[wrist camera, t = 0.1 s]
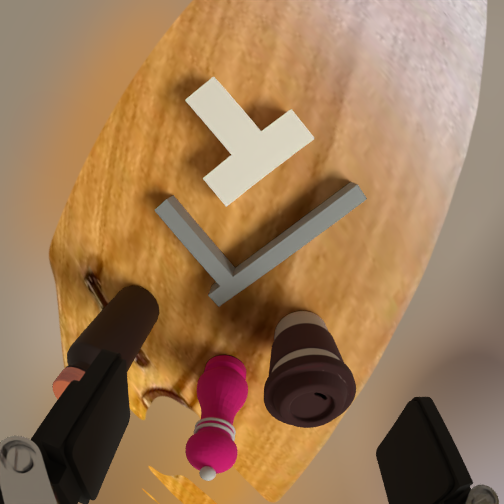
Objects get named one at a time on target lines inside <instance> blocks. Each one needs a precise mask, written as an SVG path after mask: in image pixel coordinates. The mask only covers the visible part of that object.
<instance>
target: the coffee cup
mask: <svg viewBox="0 0 504 504" xmlns="http://www.w3.org/2000/svg"><path fill="white" fill-rule="evenodd" d="M355 393H356V384H355V381H354V377H353V374H352V372H351V370H350V369H349V368H348V366H347V365H346V364H344V362H343V359H342V357H341V355H340V352H339V350H338V348H337V346H336V343H335V341H334V339H333V337H332V335H331V334H330V333H329V332H328V329H327V327H326V325H325V323H324V321H323V320H322V319H321V318H320V317H319V316H318V315H316V314H314V313H311V312H307V311H298V312H293V313H291V314H289V315H287V316H285V317H284V318H283V319H282V320H281V321H280V322H279V323H278V325H277V327H276V330H275V336H274V342H273V345H272V350H271V360H270V369H269V377H268V378H267V381H266V383H265V387H264V403H265V406H266V408H267V410H268V411H269V413H270V414H271V415H272V416H273V417H275V418H276V419H277V420H279V421H281V422H283V423H286V424H289V425H294V426H297V427H303V428H310V427H317V426H321V425H324V424H326V423H328V422H330V421H332V420H333V419H335V418H336V417H338V416H339V415H341V414H342V413H343V412H344V411H345V410H346V409H347V408H348V407H349V406H350V405H351V403H352V401H353V399H354V397H355Z"/></svg>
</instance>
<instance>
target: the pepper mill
mask: <svg viewBox="0 0 504 504" xmlns="http://www.w3.org/2000/svg"><path fill="white" fill-rule="evenodd" d="M245 380H246V368H245V366H244V364H243V363H242V362H241V361H240V360H238V359H236V358H235V357H232V356H228V355H219V356H215V357H213V358H211V359H210V360H209V361H208V362H207V364H206V367H205V370H204V373H203V374H202V375H201V376H200V378H199V380H198V384H197V397H198V400H199V403H200V406H201V412H202V414H201V420H199V421H198V422H197V423H196V425H195V430H194V435H192V436H191V437H190V438H189V440H188V442H187V444H186V456H187V459H188V461H189V462H190V464H191V465H192V466H193V467H195V468H196V469H198V470H200V476H201V478H202V479H204V480H212V479H214V477H215V475H216V473H222V472H224V471H226V470H228V469H230V468H231V467H232V466H233V464H234V463H235V461H236V458H237V447H236V444H235V443H234V440H235V428H234V427H233V420H234V417H235V415H236V413H237V412H238V411H239V410H240V408H241V407H242V406H243V405H244V403H245V401H246V398H247V394H248V386H247V382H246V381H245Z"/></svg>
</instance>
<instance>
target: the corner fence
mask: <svg viewBox="0 0 504 504" xmlns="http://www.w3.org/2000/svg"><path fill="white" fill-rule="evenodd" d="M366 199H367V198H366V196H365V195H364V193H363V192H362V190H361V189H360V188H359V186H358V185H357V184H355V183H353V182H350V183H348V184H347V185H346V186H344V187H343V188H342V189H340V190H339V191H338V192H336V193H335V194H334V195H332V196H331V197H330V198H328V199H327V200H326V201H324V202H323V203H322V204H320V205H319V206H318V207H316V208H315V209H314V210H312V211H311V212H310V213H308V214H307V215H306V216H304V217H303V218H302V219H300V220H299V221H298V222H296V223H295V224H294V225H292V226H291V227H290V228H288V229H287V230H285V231H284V232H283V233H281V234H280V235H279V236H277V237H276V238H275V239H273V240H272V241H271V242H269V243H268V244H267V245H265V246H264V247H263V248H261V249H260V250H259V251H257V252H256V253H255V254H253V255H252V256H251V257H249V258H248V259H247V260H245V261H244V262H242V263H241V264H240V265H238V266H237V267H236V268H235V267H234V266H233V265H232V264H231V262H230V261H229V260H228V259H227V258H226V257H225V255H224V254H223V253H222V252H221V251H220V250H219V248H218V247H217V246H216V245H215V244H214V243H213V241H212V240H211V239H210V238H209V237H208V236H207V234H206V233H205V232H204V231H203V230H202V228H201V227H200V226H199V225H198V224H197V223H196V221H195V220H194V219H193V218H192V217H191V215H190V214H189V213H188V212H187V211H186V210H185V208H184V207H183V206H182V205H181V204H180V202H179V201H178V200H177V199H176V198H175V196H174V195H173V196H171V197H169V198H168V199H166V200H165V201H164V202H163V203H162V204H161V205H159V206H158V207H157V208H156V209H155V212H156V213H157V214H158V215H159V216H160V217H161V219H162V220H163V221H164V222H165V223H166V225H167V226H168V227H169V228H170V229H171V230H172V232H173V233H174V234H175V235H176V236H177V238H178V239H179V240H180V241H181V242H182V243H183V244H184V246H185V247H186V248H187V249H188V250H189V251H190V253H191V254H192V255H193V256H194V257H195V258H196V259H197V261H198V262H199V263H200V264H201V265H202V266H203V267H204V269H205V270H206V271H207V272H208V273H209V274H210V275H211V277H212V278H213V279H214V280H215V281H216V283H214V284H213V285H212V286H211V289H210V292H209V294H208V296H209V297H210V298H211V299H212V300H213V301H214V302H215V303H216V304H217V305H218V307H219V306H221V305H222V304H223V303H225V302H226V301H228V300H229V299H230V298H232V297H233V296H235V295H236V294H238V293H239V292H240V291H242V290H243V289H245V288H246V287H247V286H249V285H250V284H252V283H253V282H254V281H256V280H257V279H259V278H260V277H261V276H263V275H264V274H266V273H267V272H268V271H270V270H271V269H273V268H274V267H275V266H277V265H278V264H279V263H281V262H282V261H284V260H285V259H286V258H288V257H289V256H291V255H292V254H293V253H295V252H296V251H297V250H299V249H300V248H301V247H303V246H304V245H306V244H307V243H308V242H310V241H311V240H312V239H314V238H315V237H317V236H318V235H319V234H321V233H322V232H323V231H325V230H326V229H327V228H329V227H330V226H331V225H333V224H334V223H335V222H337V221H338V220H339V219H341V218H342V217H344V216H345V215H346V214H348V213H349V212H350V211H352V210H353V209H354V208H356V207H357V206H358V205H360V204H361V203H362V202H364V201H365V200H366Z"/></svg>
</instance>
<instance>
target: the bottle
mask: <svg viewBox="0 0 504 504" xmlns="http://www.w3.org/2000/svg"><path fill="white" fill-rule="evenodd" d="M158 315H159V307H158V304H157V302H156V299H155V298H154V297H153V296H152V294H151V293H150V292H148V291H147V290H145V289H144V288H141V287H138V286H129V287H125V288H123V289H122V290H121V291H119V293H118V294H117V295H116V296H115V297H114V298H113V299H112V300H111V301H110V302H109V303H108V305H107V306H106V307H105V308H104V309H103V310H102V311H101V312H100V313H99V315H98V316H97V317H96V318H95V319H94V320H93V321H92V322H91V324H90V325H89V326H88V327H87V328H86V329H85V330H84V331H83V333H82V334H81V335H80V336H79V337H78V338H77V340H76V341H75V342H74V343H73V344H72V345H71V347H70V349H69V351H68V353H67V362H68V365H69V366H67V367H66V368H65V369H64V370H63V371H62V372H61V373H60V375H59V376H58V377H57V378H56V380H55V381H54V382H53V391H54V394H55V396H56V397H57V399H59V397H60V396H61V395H62V393H63V392H64V390H65V389H66V387H67V386H68V385H69V384H70V382H71V381H73V380H77V381H80V379H81V378H82V376H83V375H84V374H85V372H86V371H87V369H88V368H89V367H90V365H91V364H92V362H93V361H94V360H95V358H96V357H97V355H98V354H99V353H100V351H101V350H102V349H107V350H110V351H114V352H117V353H120V354H121V357H122V359H125V360H126V367H127V371H128V370H129V368H130V366H131V364H132V362H133V361H134V359H135V357H136V355H137V354H138V352H139V350H140V348H141V347H142V345H143V343H144V341H145V340H146V338H147V336H148V335H149V333H150V331H151V329H152V328H153V326H154V324H155V323H156V321H157V319H158Z"/></svg>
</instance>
